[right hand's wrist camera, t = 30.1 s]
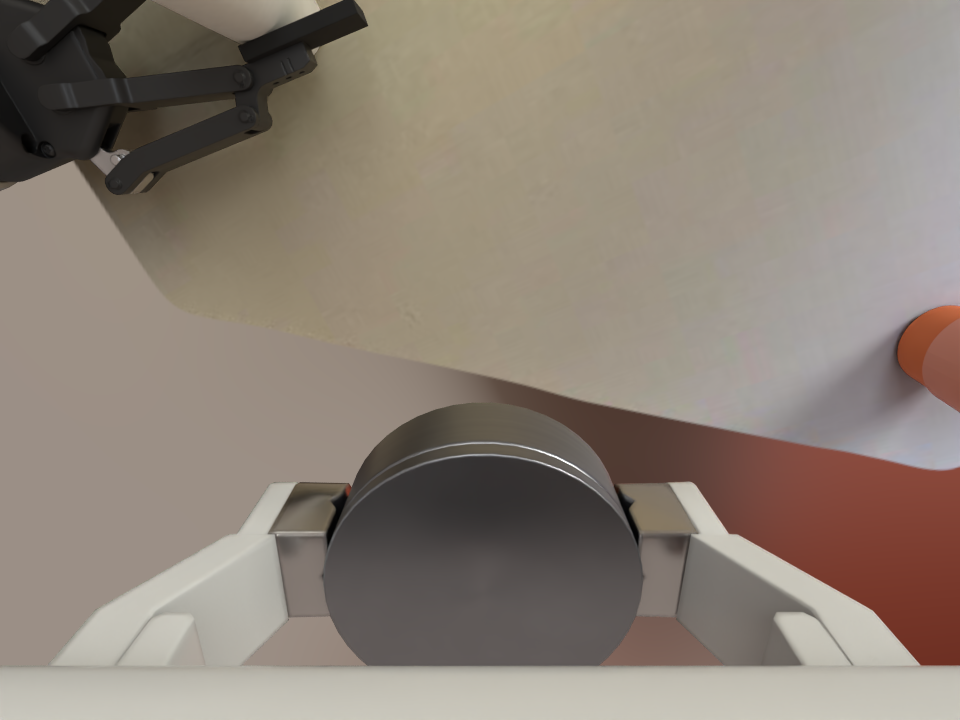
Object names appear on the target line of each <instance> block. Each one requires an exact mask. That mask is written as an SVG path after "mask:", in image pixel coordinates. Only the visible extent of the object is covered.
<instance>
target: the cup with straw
mask: <svg viewBox="0 0 960 720" xmlns="http://www.w3.org/2000/svg"><path fill="white" fill-rule="evenodd" d="M897 356H898V361H899V364H900V366H901V368H902V369H903V371H904V372H905V373H906V374H908V375H909V376H910V377H912V378H913V379H915V380H916V381H918V382H919V383H921V384H922V385H924V386H925V387H927V388H928V390H929V391H930V392H931V393H932V394H933V395H934V396H936V397H937V398H939V399H940V400H942V401H943V402H945V403H946V404H948V405H949V406H951V407H952V408H954V409H955V410H957V411H958V412H960V306H942V307H938V308H935V309H932V310H930V311H928V312H926V313H924V314H922V315H921V316H919V317H918V318H917V319H915V320H914V321H913V322H912V323H911V324H910V325H909V326H908V328H907V329H906V330H905V332H904V333H903V335H902V337H901V339H900V342H899V345H898V351H897Z"/></svg>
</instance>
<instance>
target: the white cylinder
mask: <svg viewBox="0 0 960 720" xmlns="http://www.w3.org/2000/svg"><path fill="white" fill-rule="evenodd" d="M151 1H153V2H156V3H158V4H160V5H162V6H164V7H166V8H168V9H170V10H172V11H174V12H176V13H178V14H180V15H182V16H184V17H186V18H188V19H190V20H192V21H194V22H196V23H198V24H200V25H202V26H204V27H206V28H208V29H211V30H213V31H215V32H217V33H219V34H221V35H223V36H225V37H227V38H229V39H231V40H233V41H235V42H237V43H239V44H244V43H246V42H248V41H251V40H253V39H255V38H258V37H260V36H262V35H264V34H267V33H269V32H271V31H274V30H276V29H278V28H281V27H283V26H285V25H288V24H290V23H292V22H294V21H297V20H299V19H301V18H304V17H306V16H308V15H311V14H313V13H315V12H318V11H320V8H319V6H318V4H317V2H316V1H315V0H151ZM318 49H319V47H317V48H315V49H313V50H312V52H313V55H315V53H316V52H317V50H318Z"/></svg>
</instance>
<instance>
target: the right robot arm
mask: <svg viewBox="0 0 960 720" xmlns="http://www.w3.org/2000/svg"><path fill="white" fill-rule="evenodd" d="M351 488H352V487H351V486H350V484H349V483H309V482H300V483H298V482H274V483H272V484H270V485H269V486H268V487H267V489H266V490H265V492H264V493H263V495H262V497H261V498H260V499H259V501H258V502H257V504H256V505H255V507H254V508H253V510H252V511H251V513H250V514H249V516H248V518H247V519H246V521H245V522H244V524H243V525H242V527H241V528H240V530H239V531H238V533H237V534H228V535H226V536H225V537H223V538H221V539H219V540H218V541H216V542H214V543H212V544H211V545H209V546H207V547H205V548H203V549H202V550H200V551H198V552H196V553H195V554H193V555H191V556H189V557H188V558H186V559H184V560H182V561H181V562H179V563H177V564H175V565H174V566H172V567H170V568H168V569H166V570H165V571H163V572H161V573H159V574H158V575H156V576H154V577H152V578H151V579H149V580H147V581H145V582H143V583H142V584H140V585H138V586H136V587H135V588H133V589H131V590H129V591H128V592H126V593H124V594H122V595H121V596H119V597H117V598H115V599H114V600H112V601H110V602H108V603H106V604H105V605H103V606H101V607H99V608H98V609H96V610H95V611H94V612H93V613H92V614H91V616H90V617H89V618H88V619H87V620H86V621H85V622H84V624H83V625H82V626H81V627H80V628H79V629H78V630H77V632H76V633H75V634H74V635H73V636H72V637H71V639H70V640H69V641H68V642H67V643H66V644H65V645H64V647H63V648H62V649H61V650H60V651H59V652H58V654H57V655H56V656H55V657H54V658H53V659H52V660H51V662H50V663H49V664H48V665H47V666H0V720H960V666H921V665H920V664H919V663H918V662H917V661H916V660H915V659H914V657H913V656H912V655H911V654H910V653H909V652H908V651H907V649H906V648H905V647H904V646H903V645H902V644H901V643H900V641H899V640H898V639H897V638H896V637H895V636H894V635H893V633H892V632H891V631H890V630H889V629H888V628H887V627H886V625H885V624H884V623H883V622H882V621H881V620H880V619H879V617H878V616H877V615H876V614H875V613H874V612H873V611H872V610H871V609H869V608H867V607H865V606H863V605H862V604H860V603H858V602H856V601H855V600H853V599H851V598H849V597H848V596H846V595H844V594H842V593H840V592H839V591H837V590H835V589H833V588H831V587H830V586H828V585H826V584H824V583H823V582H821V581H819V580H817V579H816V578H814V577H812V576H810V575H808V574H807V573H805V572H803V571H801V570H800V569H798V568H796V567H794V566H793V565H791V564H789V563H787V562H785V561H784V560H782V559H780V558H778V557H777V556H775V555H773V554H771V553H769V552H768V551H766V550H764V549H762V548H761V547H759V546H757V545H755V544H753V543H752V542H750V541H748V540H746V539H745V538H743V537H741V536H739V535H737V534H729V533H728V532H727V530H726V529H725V527H724V526H723V525H722V523H721V522H720V520H719V519H718V517H717V516H716V514H715V513H714V511H713V510H712V509H711V507H710V506H709V504H708V503H707V501H706V500H705V498H704V497H703V495H702V494H701V492H700V491H699V490H698V488H697V487H696V485H695V484H693V483H692V482H671V483H645V484H614V489H615V491H616V494H617V496H618V499H619V501H620V504H621V506H622V509H623V511H624V514H625V516H626V518H627V521H628V523H629V526H630V528H631V531H632V533H633V536H634V538H635V541H636V543H637V546H638V549H639V552H640V557H641V562H642V570H643V586H642V594H641V601H640V604H639V607H638V611H637V614H636V616H646V617H677V618H676V620H677V621H678V622H679V623H680V624H681V625H682V626H683V627H685V628H686V629H687V630H688V631H689V632H690V633H691V634H692V635H693V636H694V637H695V638H696V639H697V640H698V641H699V642H700V643H701V644H702V645H703V646H704V647H705V648H706V649H708V650H709V651H710V652H711V653H712V654H713V655H714V656H715V657H716V658H717V659H718V660H719V661H720V662H721V663H722V664H723V665H724V666H242V665H243V664H244V663H245V662H246V661H247V660H248V659H249V658H250V657H251V656H252V655H253V654H254V653H255V652H256V651H257V650H258V649H259V648H260V647H261V646H262V645H263V644H264V643H265V642H267V641H268V640H269V639H270V638H271V637H272V636H273V635H274V634H275V633H276V632H277V631H278V630H279V629H280V628H281V627H282V626H283V625H284V624H285V623H286V622H287V621H288V620H289V618H288V617H317V616H330V613H329V610H328V607H327V604H326V600H325V593H324V586H323V572H324V563H325V558H326V553H327V549H328V546H329V544H330V541H331V538H332V536H333V533H334V531H335V528H336V526H337V523H338V521H339V518H340V516H341V513H342V511H343V508H344V506H345V503H346V501H347V498H348V495H349V493H350V490H351Z"/></svg>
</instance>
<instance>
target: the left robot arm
mask: <svg viewBox="0 0 960 720" xmlns="http://www.w3.org/2000/svg"><path fill="white" fill-rule="evenodd" d="M145 1H146V0H50V1H49V2H47V3H46V4H45V5H43V4H40V3H37V2H34V1H30V0H0V191H1V190H4V189H6V188H8V187H10V186H12V185H14V184H15V183H17V182H21V181H25V180H28V179H30V178H33V177H35V176H38V175H40V174H42V173H45V172H47V171H49V170H52V169H54V168H56V167H59V166H61V165H64V164H66V163H68V162H71V161H73V160H75V159H78V160H89V159H90V160H91V161H92V162H93V163H94V164H95V165H96V166H97V167H98V168H99V169H100V170H101V171H102V172H103V173H104V174H105V175H106V178H105V184H106V187H107V188H108V190H109V191H110V192H112V193H113V194H116V195H121V194H134V193H144V192H147V191H149V190H150V189H151V188H152V187H153V186H154V185H155V184H156V182H157V181H158V180H159V179H160V178H161V177H162V176H163V175H164V174H165V173H166V172H168V171H170V170H172V169H175V168H177V167H180V166H182V165H185V164H187V163H189V162H192V161H194V160H197V159H199V158H202V157H204V156H207V155H209V154H211V153H214V152H216V151H219V150H221V149H224V148H226V147H229V146H231V145H233V144H236V143H238V142H241V141H243V140H246V139H248V138H250V137H253V136H255V135H258V134H260V133H263V132H265V131H267V130H269V129H270V128H271V126H272V118H271V115H270V114H269V113H268V106H267V96H269V95H270V94H271V93H272V90H273V88H274V87H277V86H279V85H282V84H284V83H286V82H289V81H291V80H294V79H295V78H298V77H301V76H303V75H306V74H308V73H310V72H312V71H313V70H314V69H315V67H316V66H317V65H318V64H317V62H316V60H315V57H314V55H313V52H312V50H313V49H315V48H317V47H320V46H322V45H324V44H327V43H329V42H332V41H334V40H336V39H339V38H341V37H343V36H346V35H348V34H350V33H353V32H355V31H357V30H360V29H362V28H365V27H367V26H368V24H367V21H366V19H365V16H364V13H363V11H362V10H361V8H360V7H359V6H358V4H357V3H356V2H355V1H354V0H343V1H341V2H338V3H336V4H334V5H331V6H329V7H327V8H324V9H322V10H320V11H318V12H315V13H313V14H311V15H308V16H306V17H304V18H301V19H299V20H297V21H294V22H292V23H290V24H288V25H285V26H283V27H281V28H278V29H276V30H274V31H271V32H269V33H267V34H264V35H262V36H260V37H258V38H255V39H253V40H251V41H248V42H246V43H244V44H241V45H239V46H238V47H239V50H240V52H241V54H242V56H243V58H244V61H245V62H247V64H245V65H243V66H241V65H233V66H225V67H216V68H208V69H200V70H191V71H183V72H175V73H166V74H158V75H150V76H141V77H133V78H126V76H125V75H124V74H123V72H122V71H121V70H120V69H119V68H118V66H117V65H116V64H115V62H114V59H113V56H112V52H111V49H110V46H109V44H108V42H109V41H110V40H111V39H112V38H113V37H114V36H115V35H116V34H118V33H119V31H120V29H121V27H120V24H121V23H122V22H123V21H124V20H125V19H126V18H127V17H128V16H129V15H130V14H132V13H133V12H134V11H135V10H136V9H137V8H138V7H139V6H140V5H141V4H143V3H144V2H145ZM227 99H235V100H236V107H235V108H233V109H230V110H228V111H225V112H223V113H221V114H218V115H216V116H214V117H211V118H209V119H206V120H204V121H202V122H199V123H197V124H194V125H192V126H190V127H187V128H185V129H183V130H180V131H178V132H175V133H173V134H171V135H168V136H166V137H163V138H161V139H159V140H156V141H154V142H152V143H149V144H147V145H144V146H142V147H140V148H137V149H135V150H130V149H119V150H116V151H113V150H112V148H113V146H114V143H115V141H116V138H117V136H118V134H119V131H120V129H121V126H122V124H123V121H124V119H125V116H126V114H127V113H128V112H136V111H145V110H153V109H157V108H159V107H167V106H175V105H184V104H192V103H201V102H209V101H218V100H227Z"/></svg>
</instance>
